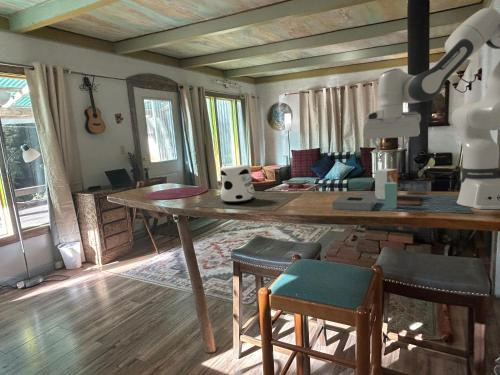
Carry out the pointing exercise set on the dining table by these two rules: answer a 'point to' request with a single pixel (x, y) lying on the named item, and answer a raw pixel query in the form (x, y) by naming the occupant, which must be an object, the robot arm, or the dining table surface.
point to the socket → (355, 202)
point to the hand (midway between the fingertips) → (390, 149)
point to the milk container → (236, 184)
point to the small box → (384, 180)
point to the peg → (391, 195)
